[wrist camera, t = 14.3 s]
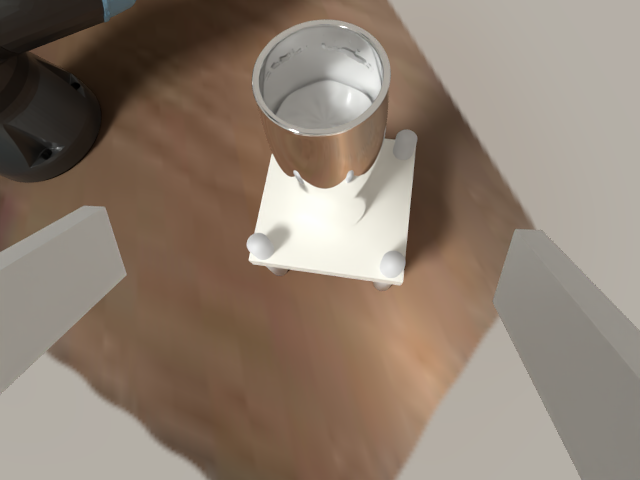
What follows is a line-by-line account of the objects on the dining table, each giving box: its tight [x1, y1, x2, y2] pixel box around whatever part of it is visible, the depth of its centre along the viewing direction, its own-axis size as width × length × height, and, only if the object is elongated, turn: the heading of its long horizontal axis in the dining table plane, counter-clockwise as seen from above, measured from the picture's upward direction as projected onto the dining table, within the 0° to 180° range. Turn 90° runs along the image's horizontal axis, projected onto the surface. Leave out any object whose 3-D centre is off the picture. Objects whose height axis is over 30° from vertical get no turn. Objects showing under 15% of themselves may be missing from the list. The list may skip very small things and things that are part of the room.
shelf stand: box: [247, 130, 417, 291], centre depth 33 cm, size 13×13×10 cm
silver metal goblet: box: [252, 20, 391, 231], centre depth 23 cm, size 7×7×15 cm
